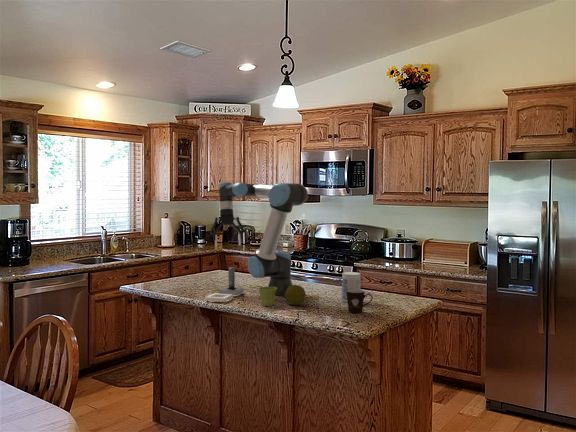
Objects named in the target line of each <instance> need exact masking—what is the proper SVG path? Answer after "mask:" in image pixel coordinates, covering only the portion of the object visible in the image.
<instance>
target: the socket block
mask: <svg viewBox="0 0 576 432" xmlns="http://www.w3.org/2000/svg"><path fill="white" fill-rule="evenodd" d="M244 288H245V287H241V286H235V289H234V290H231V289H229V286H225V287H222V288H220V289H219V293H218V294H233V295H238V294H241V293H243V292H244ZM244 293H245V292H244Z"/></svg>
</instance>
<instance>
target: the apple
mask: <svg viewBox="0 0 576 432" xmlns="http://www.w3.org/2000/svg"><path fill="white" fill-rule="evenodd" d="M284 296H285V299H286V302H287V304H289V305H291V306H300V305H302V304H303V303H304V301H305V298H306V291H305V288H303V286H302V285H297V284H292V285H291V286H289V287H288V288H287V290H286V292H285V295H284Z"/></svg>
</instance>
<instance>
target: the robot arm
mask: <svg viewBox="0 0 576 432" xmlns="http://www.w3.org/2000/svg"><path fill="white" fill-rule="evenodd" d="M218 196H219V209H220V210H219V217H215V218H214V222H213V225H212V226H211V229H210V232H209V234H210V235H212V239H213V241H214V243H215V245H214V246H215V247H218V238H217V233H218V232H219V231H220V229H221V228H222V226H232V227H233V228H234V229H235V230H236V231H237V232H238V246H242V243H241V241H242V240H243V234H244V233H245V232H246V230H245V229H244V226H243V225H242V223H241V220H240V217H239V216H236V217H234V209H233V208H234V205H233V198H238V197H240V198H243V197H245V198H247V197H250V198H251V197H252V198H253V197H254V198H264V199H268V202H269V206H270V209H271V210H270V213H269V217H268V219H267V223H266V227H265V229H264V232H263V236H262V239H261V242H260V246H259V248H257V249H256V250H255V251H254V252H255V253H254V256H253V255H252V256H251V257H249V258H248V261H247V270H248V272H249V275H251V276H252V277H253V278H255V279H262V278H267V277H269V282H268V285H267V287H276V288H277V289H276V292H275V296H285V292H286V290H287V288H288V287H289V286H291V285H293V283H292V279H291V278H292V259H291V257H292V255H291V254H290V253H288V252H279V251H277V248H278V244H279V241H280V238H281V236H282V235H281V234H282V232H283V229H284V226H285V222H286V220H287V216H288V214H290V213H291V212H292V210H293V207H294V206H301V205H304V204H305V202H307V200H308V197H309V193H308V189H307V188H306V187H305V185H304V184H301V183H290V182H289V183H288V182H287V183H286V182H280V183H275V184H261V183H244V182H236V183H234V184H233V183H232V182H231V181H230V182H229V181H224V182H220V183H219V185H218ZM219 221H220V224H219V226H217V228H216V225H217V223H218V222H219ZM234 221H235V222H236V223H237V225H238V226H239V227H238V226H237V225H236V223H234ZM215 228H216V229H215Z"/></svg>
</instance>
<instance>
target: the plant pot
mask: <svg viewBox="0 0 576 432" xmlns="http://www.w3.org/2000/svg"><path fill="white" fill-rule="evenodd" d="M257 289H258V292H259V294H260V295H259V296H260V302H261V303H260V304H261V306H262V305H263V306H262V307H266V306H267V307H273V306H274V304H275V298H276V295H275V292H276V289H277V288H276V287H268V286H261V287H258V288H257ZM272 305H273V306H272Z"/></svg>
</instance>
